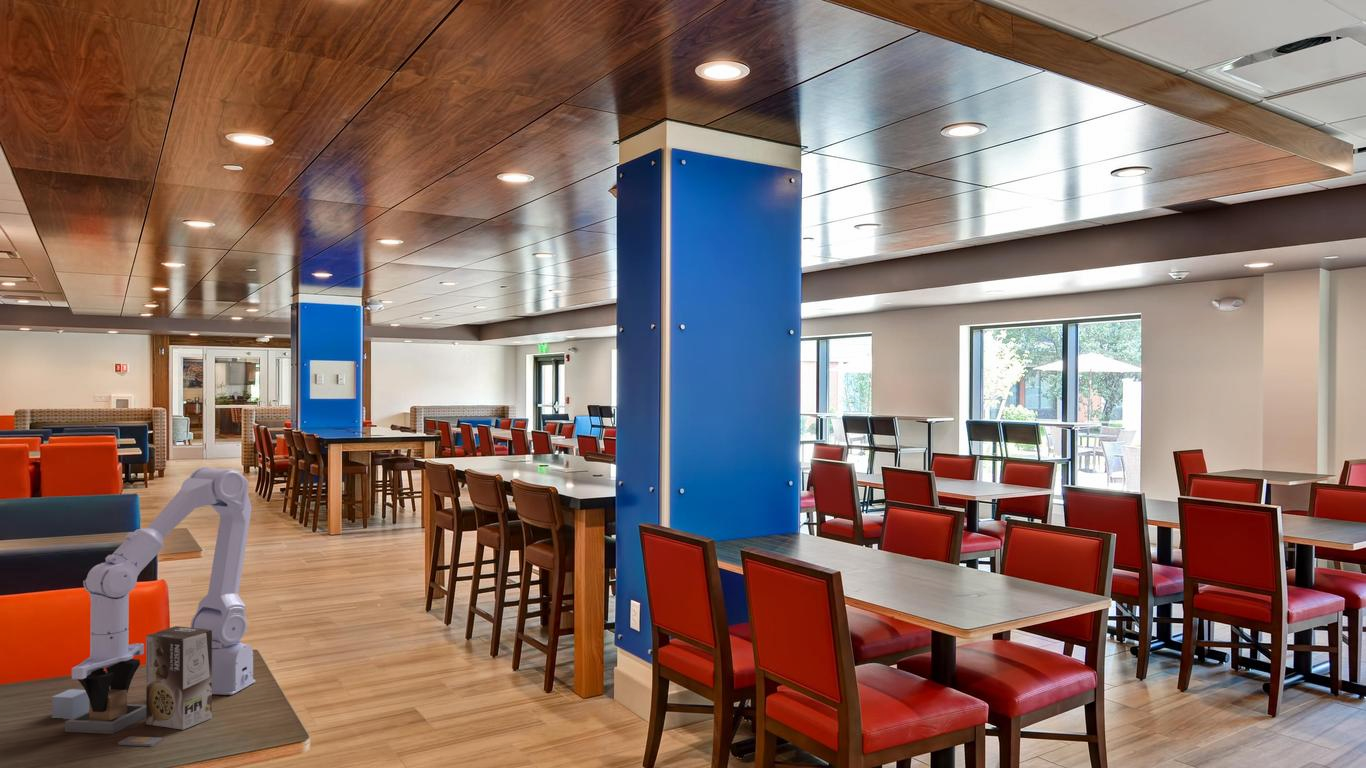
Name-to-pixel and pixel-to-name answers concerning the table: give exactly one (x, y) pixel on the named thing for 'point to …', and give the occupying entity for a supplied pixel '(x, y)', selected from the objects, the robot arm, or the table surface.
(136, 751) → the table surface
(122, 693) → the walnut block
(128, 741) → the label tile
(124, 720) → the parts tray
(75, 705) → the slate block
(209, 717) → the coffee box
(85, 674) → the robot arm
